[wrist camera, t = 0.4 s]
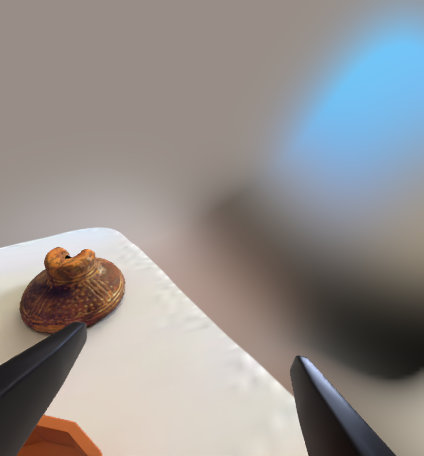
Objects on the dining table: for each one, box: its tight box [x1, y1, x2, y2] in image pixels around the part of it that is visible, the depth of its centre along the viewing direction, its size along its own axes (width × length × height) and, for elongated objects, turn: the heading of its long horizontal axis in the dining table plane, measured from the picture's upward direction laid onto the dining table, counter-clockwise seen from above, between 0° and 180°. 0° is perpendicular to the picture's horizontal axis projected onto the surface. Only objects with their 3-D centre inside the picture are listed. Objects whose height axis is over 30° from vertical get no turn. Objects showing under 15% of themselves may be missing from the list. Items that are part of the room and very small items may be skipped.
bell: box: [20, 247, 125, 333], centre depth 26 cm, size 12×12×7 cm
